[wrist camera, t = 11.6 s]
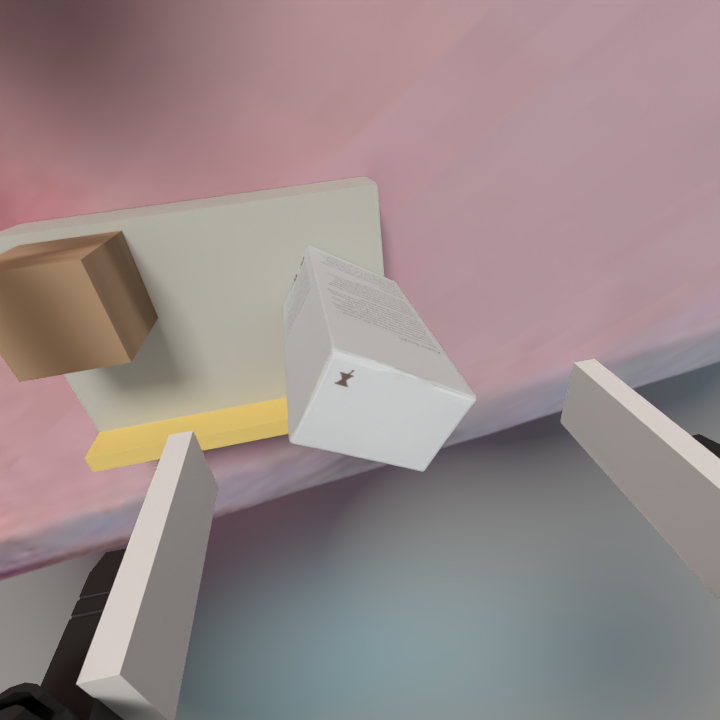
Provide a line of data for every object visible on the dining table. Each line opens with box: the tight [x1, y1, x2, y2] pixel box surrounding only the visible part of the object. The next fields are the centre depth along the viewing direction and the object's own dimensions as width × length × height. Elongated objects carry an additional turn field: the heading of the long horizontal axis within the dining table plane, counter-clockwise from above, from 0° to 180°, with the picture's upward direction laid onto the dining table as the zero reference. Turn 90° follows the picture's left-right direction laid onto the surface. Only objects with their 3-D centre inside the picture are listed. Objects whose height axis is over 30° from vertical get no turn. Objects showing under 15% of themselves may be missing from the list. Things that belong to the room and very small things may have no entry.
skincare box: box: [283, 245, 477, 471], centre depth 19 cm, size 6×4×12 cm
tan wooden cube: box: [0, 231, 158, 382], centre depth 19 cm, size 5×5×5 cm
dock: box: [0, 176, 384, 472], centre depth 24 cm, size 20×14×6 cm
